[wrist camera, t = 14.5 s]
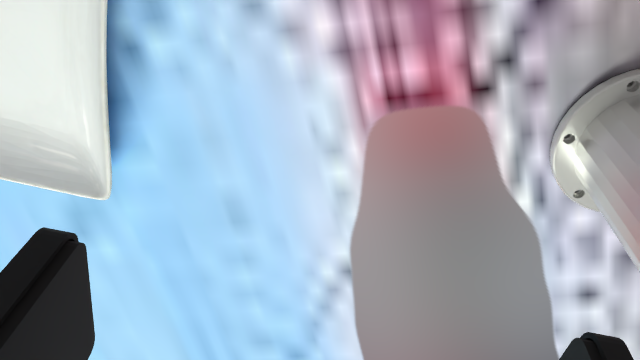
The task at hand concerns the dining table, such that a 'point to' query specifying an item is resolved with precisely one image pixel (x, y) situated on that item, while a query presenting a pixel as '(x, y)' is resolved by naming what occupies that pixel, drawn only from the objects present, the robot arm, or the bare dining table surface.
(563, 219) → the dining table surface
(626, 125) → the robot arm
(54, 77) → the square plate
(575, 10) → the dining table surface
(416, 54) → the dining table surface
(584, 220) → the dining table surface
